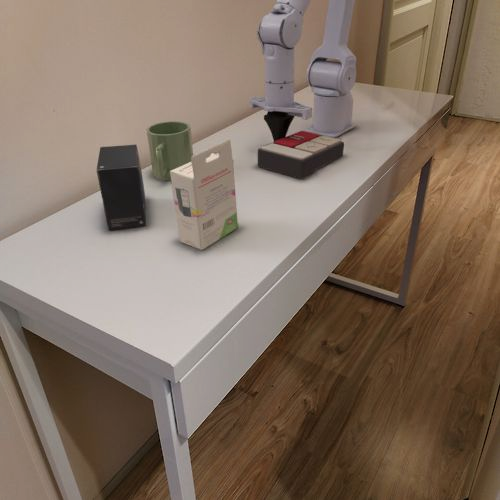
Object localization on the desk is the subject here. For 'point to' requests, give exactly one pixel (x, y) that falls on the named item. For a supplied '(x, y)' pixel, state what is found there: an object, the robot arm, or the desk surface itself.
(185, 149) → the mug
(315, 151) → the calculator
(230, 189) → the ink box
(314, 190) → the desk surface
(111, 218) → the small box
